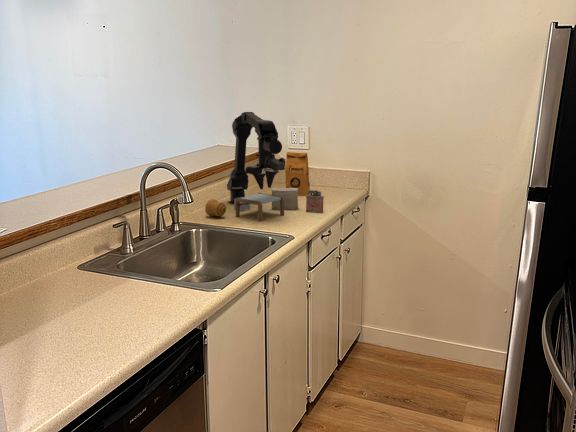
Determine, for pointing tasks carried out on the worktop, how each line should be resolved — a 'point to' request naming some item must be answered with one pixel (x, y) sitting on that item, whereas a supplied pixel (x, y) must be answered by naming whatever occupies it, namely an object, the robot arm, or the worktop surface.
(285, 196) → the grey block
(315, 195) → the lighter
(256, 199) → the trapdoor
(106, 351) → the worktop surface
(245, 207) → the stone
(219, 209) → the ornamental finial
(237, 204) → the stand
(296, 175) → the coffee package
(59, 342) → the worktop surface
